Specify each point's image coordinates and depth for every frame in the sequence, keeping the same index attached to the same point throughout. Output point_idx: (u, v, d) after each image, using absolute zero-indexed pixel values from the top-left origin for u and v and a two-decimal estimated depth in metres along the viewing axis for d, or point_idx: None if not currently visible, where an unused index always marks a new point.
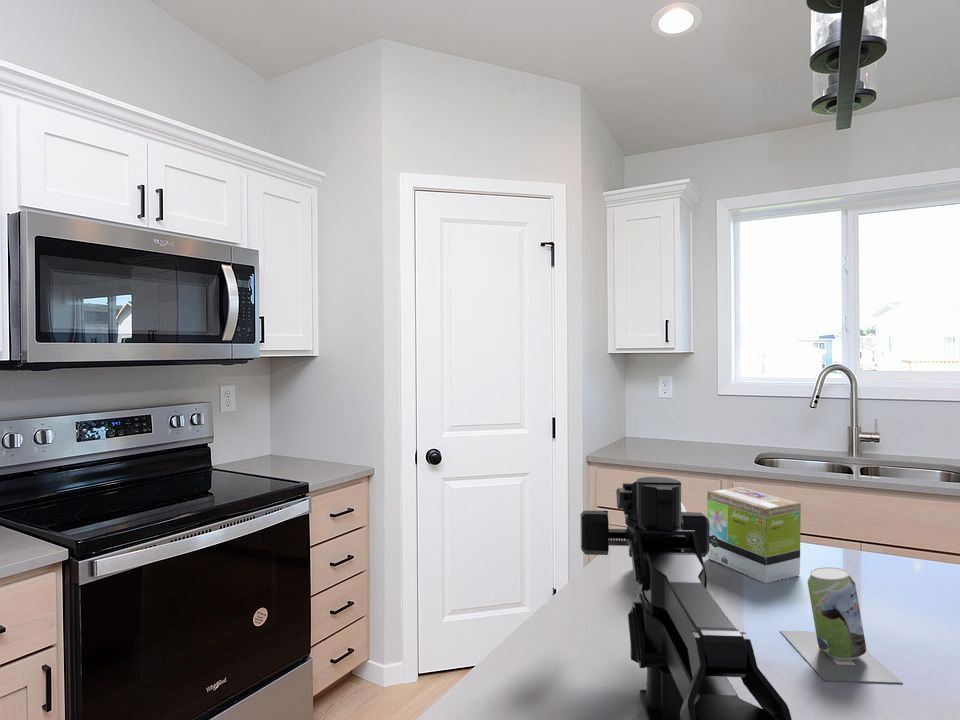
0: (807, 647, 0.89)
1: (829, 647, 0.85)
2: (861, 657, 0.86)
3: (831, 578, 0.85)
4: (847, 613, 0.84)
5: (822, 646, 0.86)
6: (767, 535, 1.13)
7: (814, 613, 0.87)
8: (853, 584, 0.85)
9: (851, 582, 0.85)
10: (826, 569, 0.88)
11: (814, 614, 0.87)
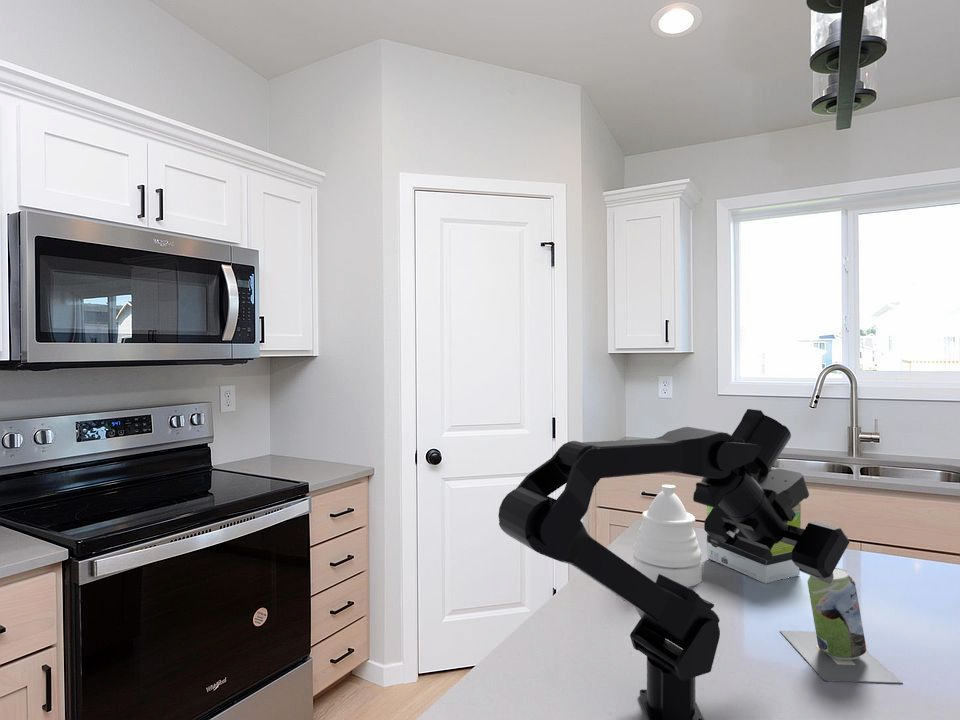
0: (807, 647, 0.89)
1: (829, 647, 0.85)
2: (861, 657, 0.86)
3: None
4: (847, 613, 0.84)
5: (822, 646, 0.86)
6: None
7: (814, 613, 0.87)
8: (853, 584, 0.85)
9: (851, 582, 0.85)
10: None
11: (814, 614, 0.87)
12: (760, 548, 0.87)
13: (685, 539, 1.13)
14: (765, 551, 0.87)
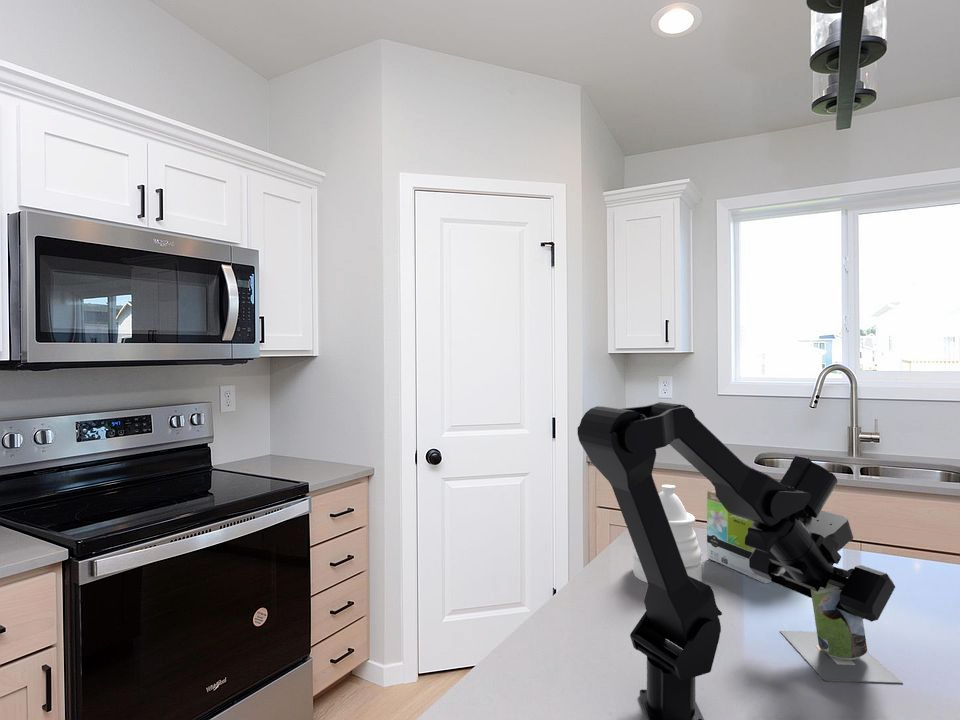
0: (807, 647, 0.89)
1: (830, 647, 0.85)
2: (861, 657, 0.86)
3: None
4: None
5: (823, 646, 0.86)
6: None
7: (815, 613, 0.87)
8: None
9: None
10: None
11: (815, 614, 0.87)
12: None
13: (685, 539, 1.13)
14: None
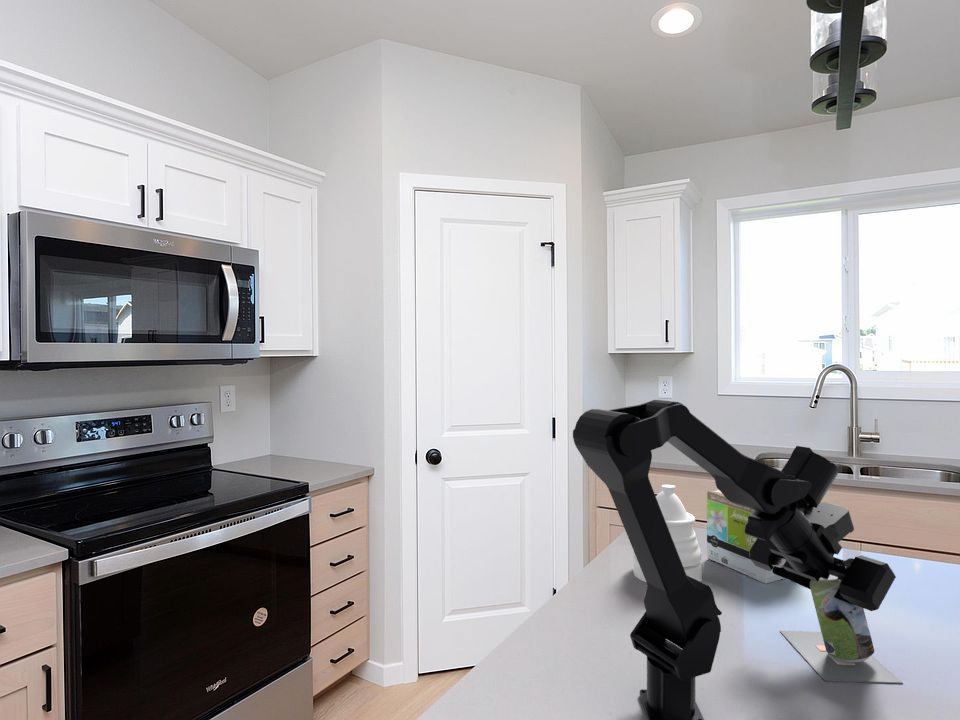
0: (807, 647, 0.89)
1: (836, 650, 0.84)
2: None
3: (831, 578, 0.85)
4: (850, 613, 0.83)
5: (829, 650, 0.85)
6: None
7: (818, 616, 0.86)
8: None
9: None
10: None
11: (818, 617, 0.86)
12: None
13: (685, 539, 1.13)
14: None
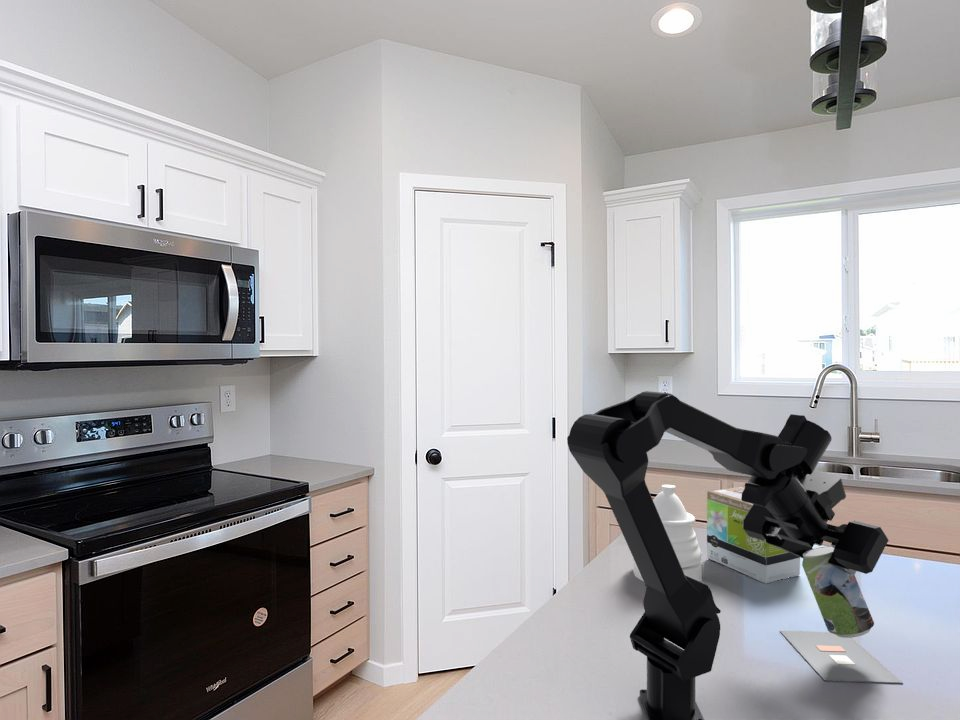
0: (807, 647, 0.89)
1: (836, 626, 0.84)
2: (861, 657, 0.86)
3: (821, 554, 0.86)
4: (844, 587, 0.83)
5: (830, 627, 0.85)
6: None
7: (814, 594, 0.86)
8: None
9: None
10: (818, 549, 0.89)
11: (815, 595, 0.86)
12: (806, 550, 0.90)
13: (685, 539, 1.13)
14: None
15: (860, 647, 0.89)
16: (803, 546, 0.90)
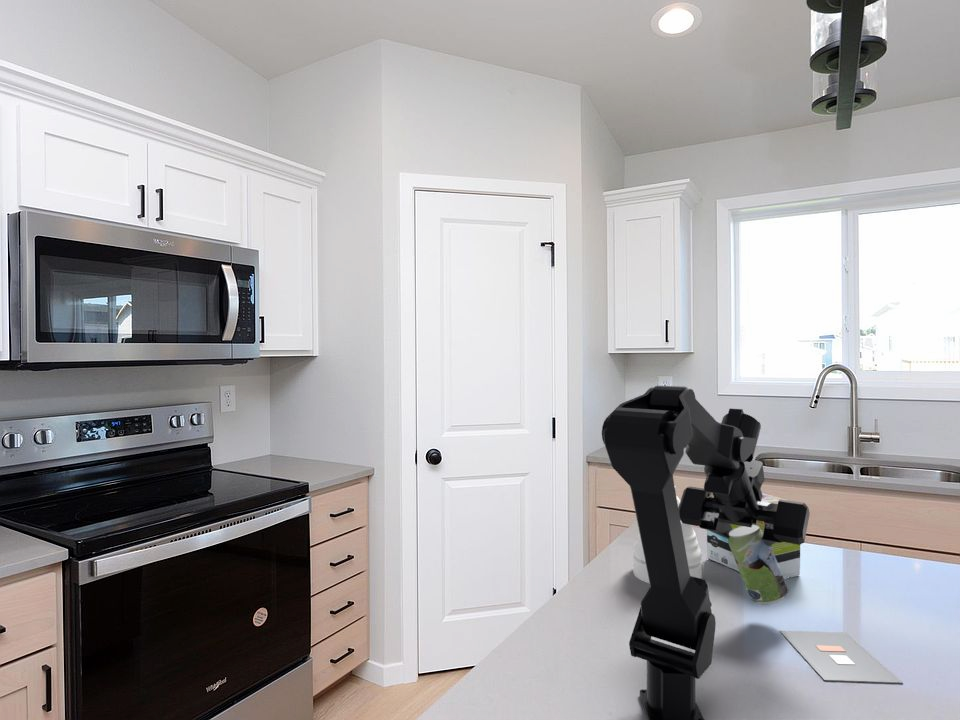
0: (807, 647, 0.89)
1: (762, 595, 0.95)
2: (861, 657, 0.86)
3: (748, 533, 0.96)
4: (768, 559, 0.95)
5: (756, 597, 0.96)
6: None
7: (742, 569, 0.97)
8: None
9: (763, 531, 0.97)
10: (739, 528, 1.00)
11: (742, 570, 0.97)
12: (728, 530, 1.00)
13: (685, 539, 1.13)
14: None
15: (860, 647, 0.89)
16: (727, 527, 1.00)
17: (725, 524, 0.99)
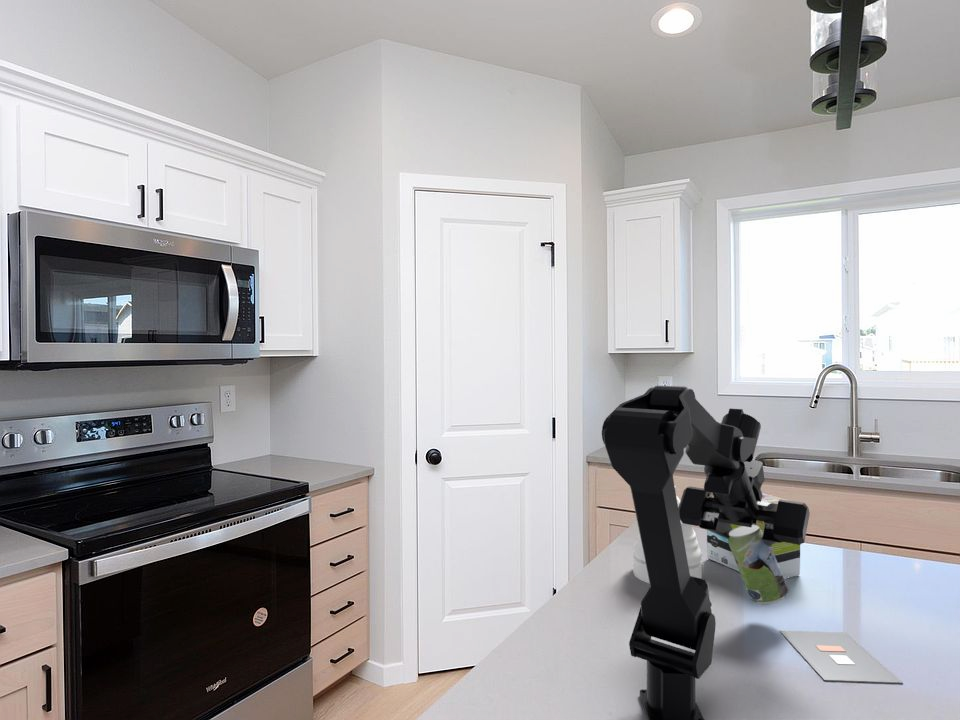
0: (807, 647, 0.89)
1: (762, 595, 0.95)
2: (861, 657, 0.86)
3: (748, 533, 0.96)
4: (768, 559, 0.95)
5: (756, 597, 0.96)
6: None
7: (742, 569, 0.97)
8: None
9: (763, 531, 0.97)
10: (739, 528, 1.00)
11: (742, 570, 0.97)
12: (728, 530, 1.00)
13: (685, 539, 1.13)
14: None
15: (860, 647, 0.89)
16: (727, 527, 1.00)
17: (725, 524, 0.99)
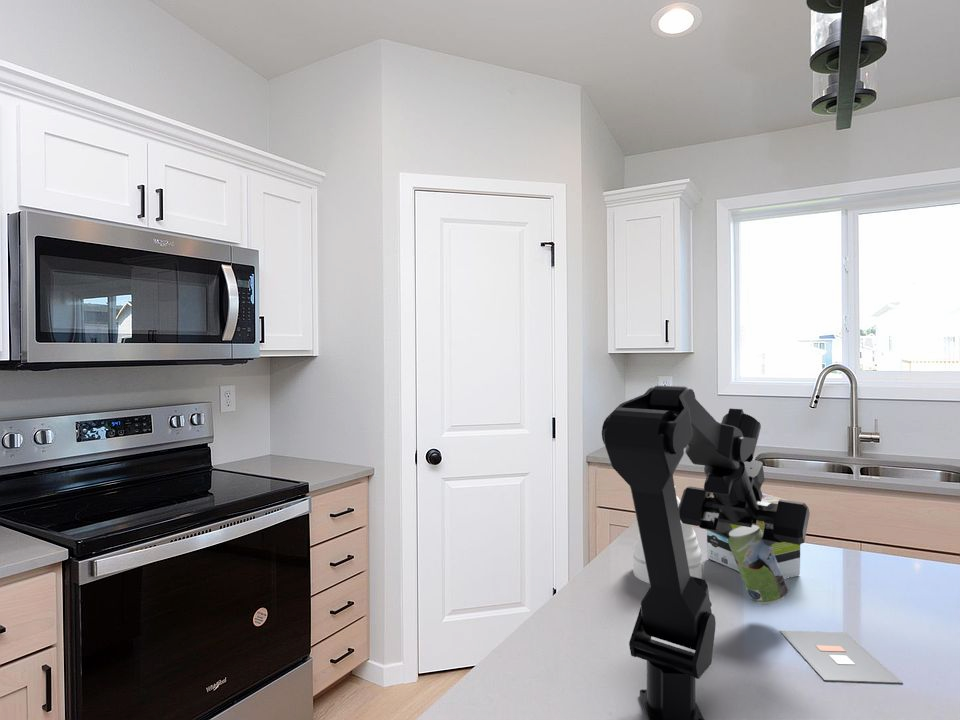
0: (807, 647, 0.89)
1: (762, 595, 0.95)
2: (861, 657, 0.86)
3: (748, 533, 0.96)
4: (768, 559, 0.95)
5: (756, 597, 0.96)
6: None
7: (742, 569, 0.97)
8: None
9: (763, 531, 0.97)
10: (739, 528, 1.00)
11: (742, 570, 0.97)
12: (728, 530, 1.00)
13: (685, 539, 1.13)
14: None
15: (860, 647, 0.89)
16: (727, 527, 1.00)
17: (725, 524, 0.99)
